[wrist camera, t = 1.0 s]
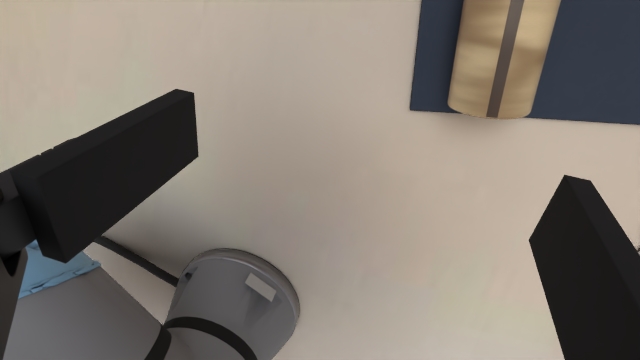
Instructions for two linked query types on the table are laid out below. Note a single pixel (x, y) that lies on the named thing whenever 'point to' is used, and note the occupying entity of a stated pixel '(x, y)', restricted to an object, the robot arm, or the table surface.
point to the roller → (500, 56)
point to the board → (549, 61)
